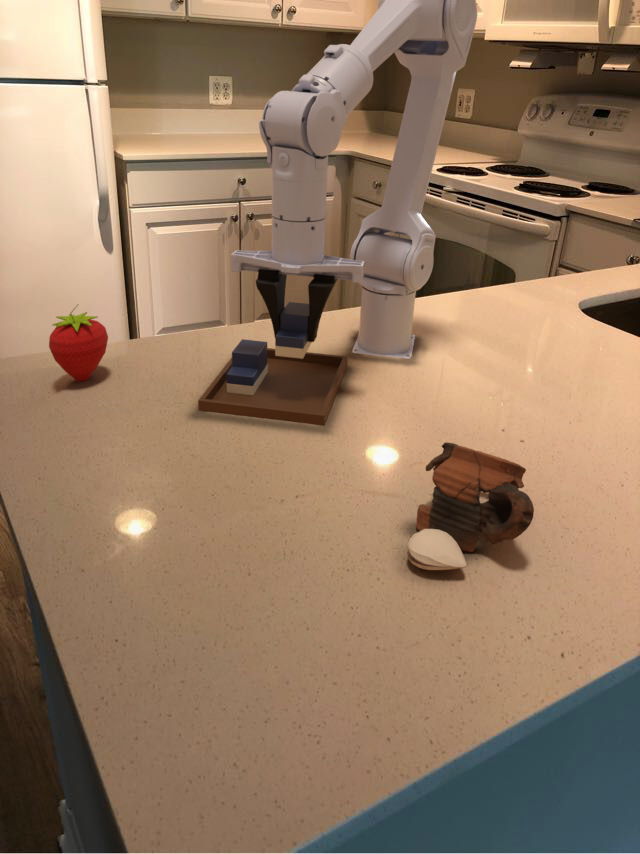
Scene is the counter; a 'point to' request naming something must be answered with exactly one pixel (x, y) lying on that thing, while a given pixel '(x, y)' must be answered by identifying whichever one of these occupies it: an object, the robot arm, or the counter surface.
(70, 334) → the strawberry
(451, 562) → the white teardrop shell
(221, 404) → the brown serving tray
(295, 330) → the trainer
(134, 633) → the counter surface
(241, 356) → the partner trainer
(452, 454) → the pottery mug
